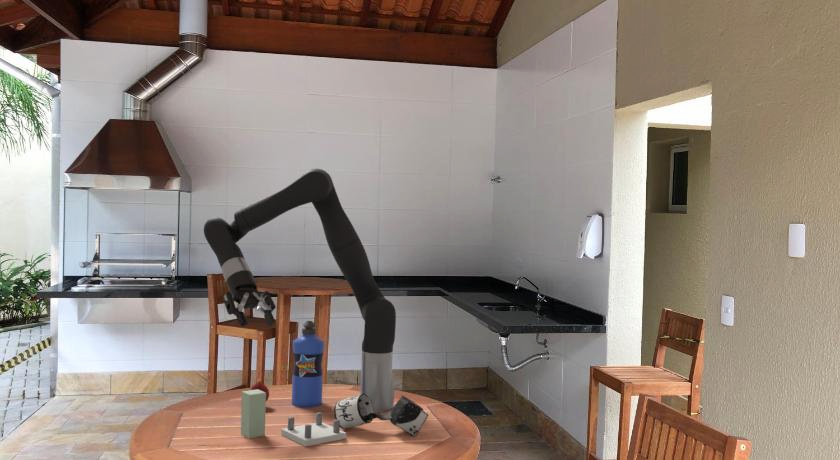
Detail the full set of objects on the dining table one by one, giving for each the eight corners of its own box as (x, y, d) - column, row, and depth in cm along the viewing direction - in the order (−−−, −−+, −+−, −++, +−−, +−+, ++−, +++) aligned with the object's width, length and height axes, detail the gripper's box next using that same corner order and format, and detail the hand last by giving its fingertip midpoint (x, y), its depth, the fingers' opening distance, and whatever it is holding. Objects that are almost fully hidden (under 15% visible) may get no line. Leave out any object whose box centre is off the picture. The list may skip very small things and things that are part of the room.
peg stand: (320, 427, 197) (321, 410, 197) (345, 438, 188) (346, 421, 188) (281, 434, 189) (281, 417, 189) (305, 446, 180) (305, 428, 180)
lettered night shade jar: (330, 434, 191) (331, 396, 191) (338, 424, 201) (339, 388, 201) (426, 440, 189) (427, 402, 189) (430, 430, 198) (431, 393, 198)
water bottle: (319, 408, 217) (322, 323, 217) (288, 407, 217) (291, 322, 217) (324, 400, 226) (326, 319, 226) (294, 399, 227) (296, 318, 226)
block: (256, 431, 192) (257, 389, 192) (264, 435, 188) (266, 392, 188) (240, 433, 189) (241, 391, 189) (248, 438, 185) (249, 394, 185)
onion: (263, 410, 213) (264, 382, 213) (245, 408, 214) (245, 381, 214) (271, 405, 218) (272, 378, 218) (253, 404, 219) (254, 377, 219)
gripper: (222, 268, 200) (242, 317, 192) (266, 269, 210) (286, 315, 203) (210, 285, 204) (229, 334, 196) (253, 285, 214) (273, 331, 207)
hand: (258, 324), depth 200 cm, fingers open, 8 cm apart
